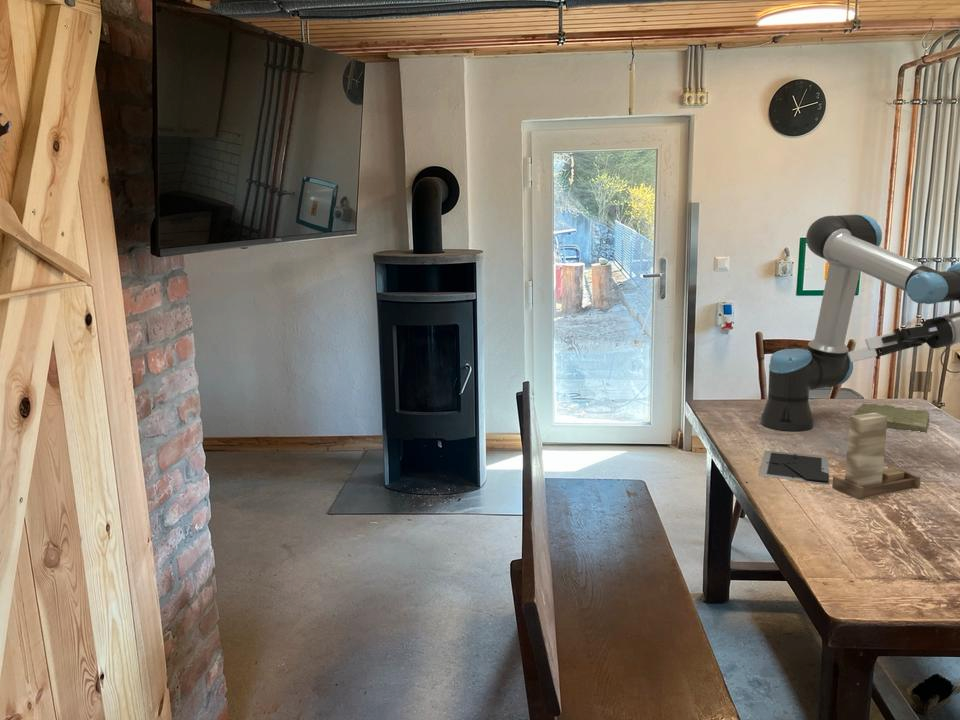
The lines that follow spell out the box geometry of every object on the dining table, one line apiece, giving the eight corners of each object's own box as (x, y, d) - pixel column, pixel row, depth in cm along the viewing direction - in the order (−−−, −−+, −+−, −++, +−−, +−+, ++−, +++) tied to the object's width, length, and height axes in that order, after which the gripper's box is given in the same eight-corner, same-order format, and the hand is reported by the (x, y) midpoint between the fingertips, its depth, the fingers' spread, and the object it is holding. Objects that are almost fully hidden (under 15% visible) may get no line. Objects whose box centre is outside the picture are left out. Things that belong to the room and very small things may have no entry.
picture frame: (828, 491, 171) (827, 464, 189) (829, 480, 171) (828, 454, 189) (758, 483, 178) (764, 457, 196) (758, 472, 177) (765, 447, 196)
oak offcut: (874, 484, 170) (875, 470, 169) (890, 481, 171) (891, 467, 171) (886, 489, 167) (888, 475, 166) (902, 486, 168) (904, 472, 167)
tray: (831, 492, 169) (833, 476, 168) (889, 481, 174) (890, 466, 174) (859, 504, 161) (861, 488, 161) (918, 492, 167) (920, 476, 166)
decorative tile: (925, 434, 211) (927, 423, 211) (850, 425, 223) (851, 414, 222) (931, 419, 226) (932, 409, 225) (860, 411, 238) (861, 401, 237)
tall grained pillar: (844, 490, 167) (849, 416, 163) (868, 485, 169) (874, 412, 166) (856, 495, 164) (862, 420, 160) (881, 490, 166) (887, 416, 162)
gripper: (976, 331, 164) (881, 353, 167) (929, 356, 188) (847, 375, 191) (963, 301, 166) (870, 324, 169) (919, 329, 190) (838, 348, 193)
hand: (858, 351), depth 180 cm, fingers open, 13 cm apart
